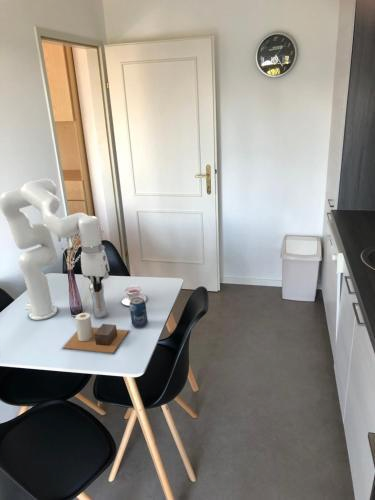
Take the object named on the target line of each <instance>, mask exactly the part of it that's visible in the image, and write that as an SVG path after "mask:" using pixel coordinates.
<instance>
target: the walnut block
mask: <svg viewBox="0 0 375 500" xmlns="http://www.w3.org/2000/svg"><path fill="white" fill-rule="evenodd" d="M98 328H99V329H98V330H97V331H96V333H95V334H94V335H95V341H96V345H105V346H110V345H111V343H112V342H113V341H114V339H115V338H116V336H117V330H118V329H117V324H112V323H102V324H101V325H100V326H99V327H98Z"/></svg>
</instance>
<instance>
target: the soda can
mask: <svg viewBox="0 0 375 500" xmlns="http://www.w3.org/2000/svg"><path fill="white" fill-rule="evenodd" d="M146 304H147V303H146V301H144V299H143V298H140V297H138V298H133V299H132V300H131V301H130V306H129V313H130V319H131V320H130V321H131V325H132V326H133V327H134V328H135V329H142V328H145V327H146V326H147V324H148V321H149V320H148V313H147V312H148V311H147V305H146Z"/></svg>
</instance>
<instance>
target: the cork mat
mask: <svg viewBox="0 0 375 500" xmlns="http://www.w3.org/2000/svg"><path fill="white" fill-rule="evenodd" d="M99 328H100V327H92V333H93V338H92V339H90V340H88V341H80V340H79V339H78V333H77V332H75V334H74V335H73V336H72V337H71V338H70V340H68V341H67V342H66V343H65V345H64V346H63V347H62V348H63V349H66V350H74V351H82V352H83V351H84V352H95V353H103V354H115V352H116V351H117V349H118V348H119V346H120V344H121V343H122V342H123V340H124V339H125V338H126V336H127V334H128V333H129V330H124V329H122V330H121V329H117V336H116V338H115V339H114V341H113V342H112V343H111V345H110V346H105V345H96V341H95V335H94V334H95V333H96V331H97V330H98V329H99Z"/></svg>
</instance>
